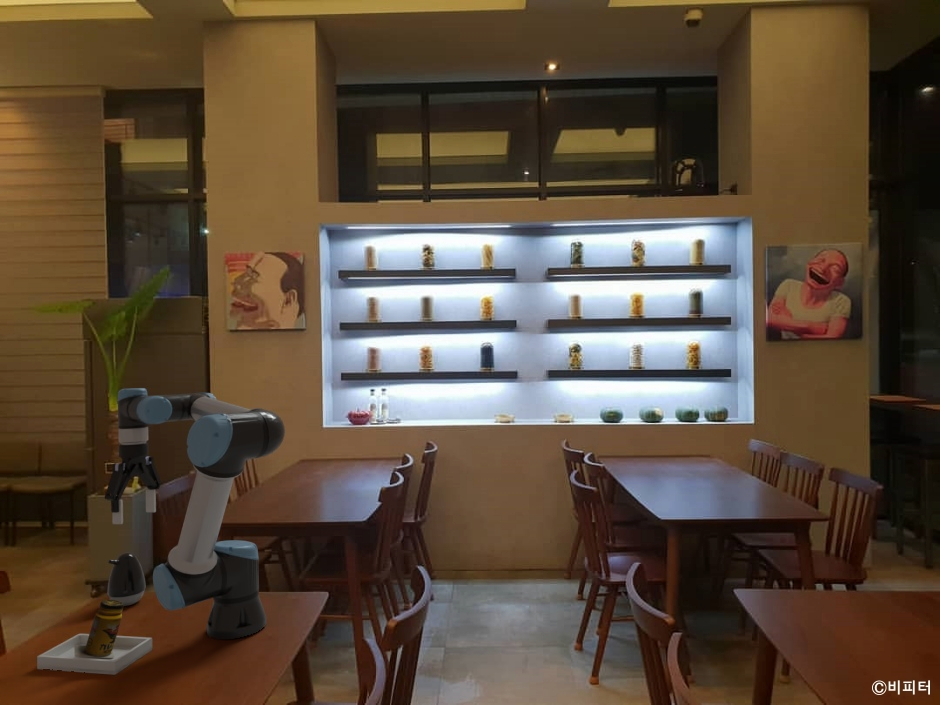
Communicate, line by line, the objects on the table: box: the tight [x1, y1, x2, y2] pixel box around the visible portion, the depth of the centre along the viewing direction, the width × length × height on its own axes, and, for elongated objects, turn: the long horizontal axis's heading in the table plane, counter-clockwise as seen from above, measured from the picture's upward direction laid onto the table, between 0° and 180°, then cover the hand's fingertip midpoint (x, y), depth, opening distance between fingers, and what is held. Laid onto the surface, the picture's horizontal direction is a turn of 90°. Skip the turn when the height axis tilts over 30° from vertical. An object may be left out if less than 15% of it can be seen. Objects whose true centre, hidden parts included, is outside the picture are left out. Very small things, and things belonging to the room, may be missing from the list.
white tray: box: [36, 633, 153, 676], centre depth 159 cm, size 21×13×3 cm, turn 80°
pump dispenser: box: [107, 552, 146, 607], centre depth 196 cm, size 10×10×15 cm
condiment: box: [74, 599, 125, 658], centre depth 159 cm, size 7×8×12 cm
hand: (135, 517), depth 183 cm, fingers open, 13 cm apart
